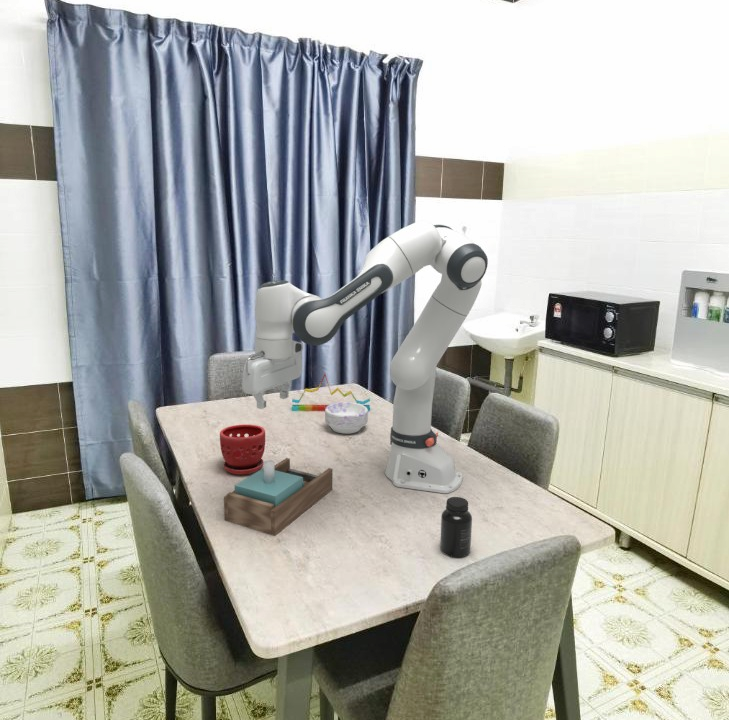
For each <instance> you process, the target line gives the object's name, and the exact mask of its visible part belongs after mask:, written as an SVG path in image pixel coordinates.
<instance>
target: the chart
mask: <svg viewBox="0 0 729 720" xmlns="http://www.w3.org/2000/svg"><path fill="white" fill-rule="evenodd" d="M324 378H325V381H326V384H327V387H328V389H329V394H330V396H332V395H334V394H335V393H337V392H339V393H340V394H341V395H342V396H343V397H344V398H346V397H347V396H349V395H351V396H352V398H353V399H354V401H355V403H358V404H361V405H364V406H365V407H366V408H367V409H368V412H370V411H371V406H370V404H367V403H369V402H371V398H367V399H365V400H363V401H362V400H359V399H357V398H356V397H355V395H354V394H353V392H352V391H351V390H349V391H348V392H346V393H344V392H343V391H342V390H341V389H340V388H339V387H336V389H334V390H332V391H331V388H330V384H329V382H328V377H327V375H326V373H324V374H323V376H322V379H321V381H320V383H319V385H318V387H316V388H312V389H310V388H305V389H304V391H303V393H302V394H301V396H300V397H299V399H294V398H292V400H291V402H292V403H296V404H292V405H291V411H292V412H325V409H326V407H327V406H328V405H329V404H299V403H300V402H301V400H302V398H303V396H304V395H305V393H306V392H309V393H314V392H317V391H319V390H320V387H321V385H322V383H323V381H324Z"/></svg>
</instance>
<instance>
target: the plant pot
mask: <svg viewBox="0 0 729 720" xmlns="http://www.w3.org/2000/svg"><path fill="white" fill-rule="evenodd" d="M238 435H239V436H238ZM245 435H248V436H245ZM219 444H220V445H219V446H220V450H221V451H220V452H221V454H222V458H223V459H224V462H223V468H224V469H225V471H227V472H228V473H230V474H233V475H250V474H254V473H256V472H257V471H259V470H261V469H262V468H263V467H264V462H265V461H264V460H263V459H262V458H263V456H264V452H265V447H266V430H265V428H264V427H262V426H260V425H256V424H237V425H231V426H230V425H229V426H227V427H225V428H222V430H220V432H219Z"/></svg>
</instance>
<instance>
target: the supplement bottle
mask: <svg viewBox="0 0 729 720" xmlns="http://www.w3.org/2000/svg"><path fill="white" fill-rule="evenodd" d="M445 505H446V506H445V509H444V510H443V511H442V512H441V517H440V518H441V519H440V541H439V543H440V544H439V546H440V547H439V548H440V550H441V552H442V553H443V554H444V555H446V556H448V557H452V558H462V557H463V558H464V557H465V556H467V555H469V553H470V552H471V548H472V547H471V545H472V544H471V543H472V531H473V530H472V528H473V516H472V514H471V512H470V511H469V501H468V500H467V499H466V498H464V497H461V496H452V497H449V498H447V499H446V503H445Z"/></svg>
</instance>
